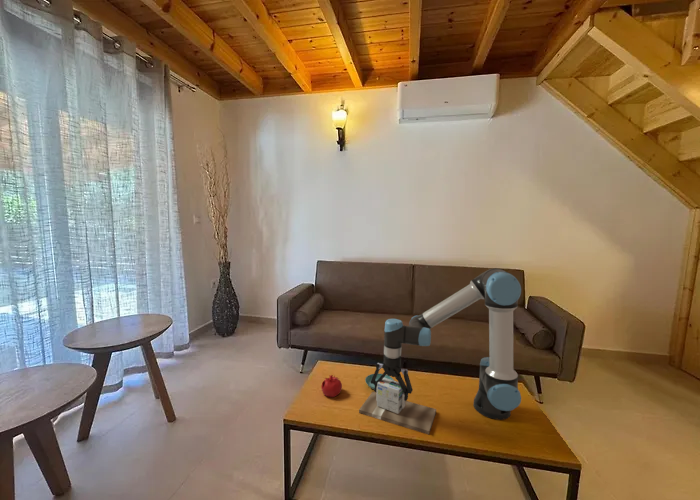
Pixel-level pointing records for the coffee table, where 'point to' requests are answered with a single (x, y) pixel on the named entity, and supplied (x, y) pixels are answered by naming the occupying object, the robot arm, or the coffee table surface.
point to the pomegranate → (331, 386)
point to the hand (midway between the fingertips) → (390, 403)
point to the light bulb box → (389, 395)
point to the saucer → (369, 378)
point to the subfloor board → (401, 414)
